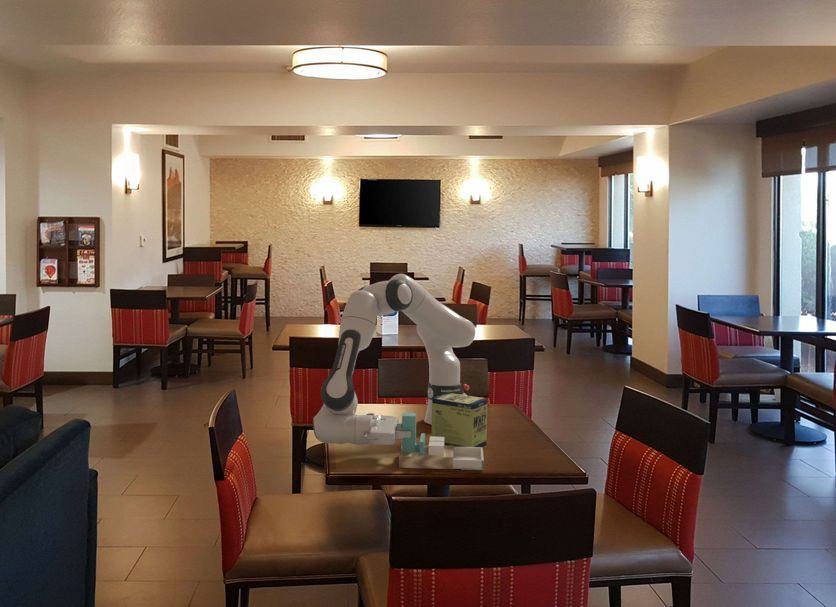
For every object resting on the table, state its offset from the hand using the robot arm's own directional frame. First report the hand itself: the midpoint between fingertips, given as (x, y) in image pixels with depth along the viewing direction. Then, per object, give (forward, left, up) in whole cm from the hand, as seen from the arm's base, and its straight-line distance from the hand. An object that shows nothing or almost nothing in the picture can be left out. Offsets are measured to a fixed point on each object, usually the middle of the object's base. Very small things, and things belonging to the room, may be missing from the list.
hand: (411, 430), depth 255 cm
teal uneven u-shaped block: (0, 0, -6) cm, 6 cm away
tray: (-15, +9, -10) cm, 20 cm away
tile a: (-8, +2, -6) cm, 10 cm away
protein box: (-23, -10, -10) cm, 27 cm away
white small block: (-5, +7, -6) cm, 10 cm away
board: (-4, +2, -10) cm, 11 cm away
